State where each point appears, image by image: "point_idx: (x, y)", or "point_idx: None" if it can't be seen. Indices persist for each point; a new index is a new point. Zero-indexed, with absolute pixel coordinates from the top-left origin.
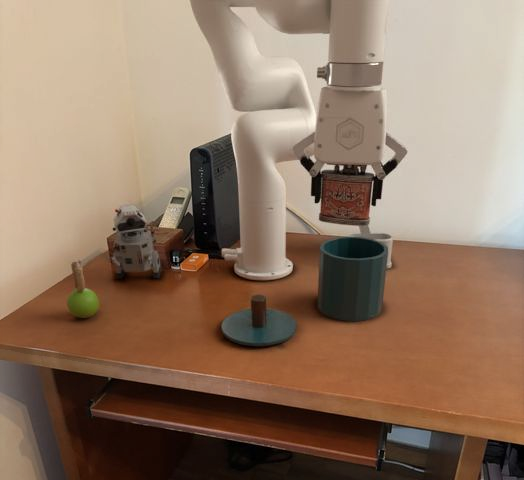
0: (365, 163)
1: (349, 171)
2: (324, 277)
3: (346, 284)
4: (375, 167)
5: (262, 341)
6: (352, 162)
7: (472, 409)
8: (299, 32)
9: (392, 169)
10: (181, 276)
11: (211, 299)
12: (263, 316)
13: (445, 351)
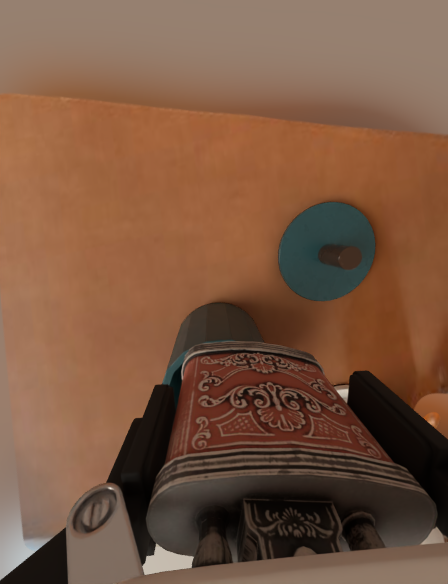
0: (182, 579)
1: (292, 520)
2: (260, 337)
3: (224, 321)
4: (118, 573)
5: (317, 208)
6: (309, 572)
7: (40, 109)
8: None
9: (9, 579)
10: (438, 376)
11: (393, 323)
12: (328, 249)
13: (87, 250)
